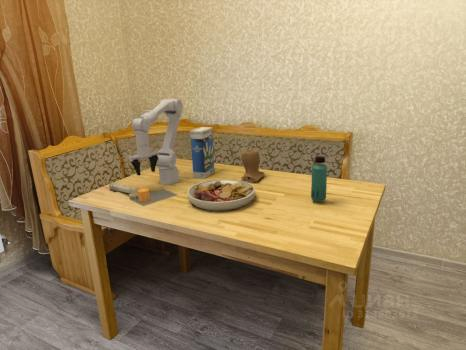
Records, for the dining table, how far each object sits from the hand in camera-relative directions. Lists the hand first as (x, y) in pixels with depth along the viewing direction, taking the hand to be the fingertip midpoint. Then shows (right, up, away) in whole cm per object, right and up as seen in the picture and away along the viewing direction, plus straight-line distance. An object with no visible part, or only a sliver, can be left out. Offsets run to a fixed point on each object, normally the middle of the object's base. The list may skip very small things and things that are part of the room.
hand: (146, 173), depth 157 cm
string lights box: (+25, -1, +30) cm, 39 cm away
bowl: (+36, -12, -6) cm, 38 cm away
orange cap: (+1, -12, -7) cm, 14 cm away
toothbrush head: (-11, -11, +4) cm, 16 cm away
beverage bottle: (+77, -13, -13) cm, 80 cm away
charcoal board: (+5, -12, -3) cm, 13 cm away
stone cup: (+51, -3, +21) cm, 55 cm away
